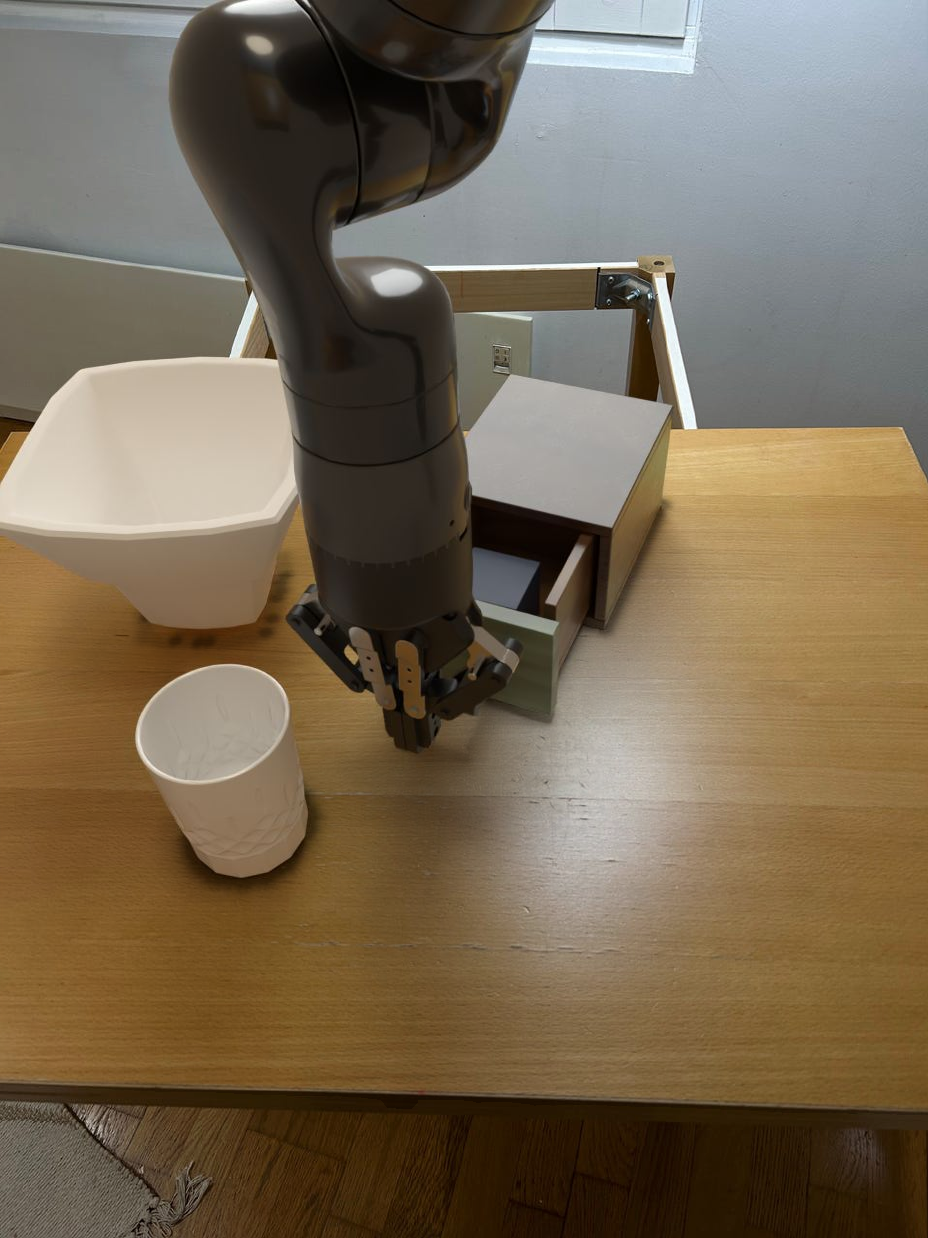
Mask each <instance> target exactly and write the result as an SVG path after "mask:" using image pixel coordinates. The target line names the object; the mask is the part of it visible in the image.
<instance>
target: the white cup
mask: <svg viewBox="0 0 928 1238" xmlns="http://www.w3.org/2000/svg"><path fill="white" fill-rule="evenodd" d="M296 736H297V735H296V732H295V726H294V721H293V715H292V711H291V706H290V701H289V697H288V695H287V693H286V691H285V689H284V688H283V686H282V685H281V684H280V682H278V681H277V679H275V677H273V676H271V675H270V674H269V673H267V672H265V671H263V670H261V669H258V668H255V667H252V666H249V665H244V664H236V663H221V664H212V665H207V666H203V667H200V668H197V669H194V670H191V671H188V672H186V673H184V674H182V675H180V676H177V677H176V678H174V679H173V680H171V681H169V682H168V683H167V684H165V685H164V686H163V687H161V688H160V689H159V690H158V691H156V693H155V694H154V695H153V696H152V697H151V699H149V700H148V701H147V703H146V705H145V706H144V707H143V709H142V711H141V713H140V715H139V718H138V720H137V724H136V726H135V736H134V737H135V738H134V740H135V747H136V750H137V753H138V756H139V758H140V760H141V761H142V763H143V765H144V767H145V769H146V770H147V772H148V774H149V776H150V778H151V780H152V782H153V783H154V785H155V787H156V788H157V791H158V793H159V794H160V796H161V798H162V800H163V801H164V803H165V806H166V808H167V809H168V811H169V812H170V814H171V815H172V817H173V818H174V821H175V822H176V824H177V825H178V828H179V829H180V830H181V832H182V833H183V834H184V836H185V837H186V838H187V840H188V841H189V843H190V845H191V848H192V849H193V851H194V854H196V856H197V859H199V860H200V861H201V863H204V864H205V865H206V866H207V867H208V868H210V870H212V871H213V872H214V873H216V874H220V875H225V876H228V877H229V876H230V877H234V878H239V879H242V878H248V877H253V876H256V875H257V876H258V875H262V874H266V873H270V871H272V870H274V869H275V868H277V867H278V866H280V865H281V864H283V863H284V862H286V861H287V860H289V859H290V858H292V856H293V854H294V853H295V852H296V851H297V849H298V848H299V846H300V845H301V843H302V841H304V838H305V837H306V833H307V825H308V818H309V810H308V806H307V800H306V795H305V782H304V776H303V771H302V762H301V757H300V752H299V746H298V741H297V737H296Z"/></svg>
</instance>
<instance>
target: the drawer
mask: <svg viewBox="0 0 928 1238" xmlns="http://www.w3.org/2000/svg"><path fill="white" fill-rule="evenodd" d="M470 508H471V532H472V550H473V548H474V547H477V548H481V549H485V550H490V551H494V552H498V553H502V554H507V555H511V556H515V557H519V558H524V559H528V560H532V561H537V562H540V613H539V615H538V616H534V615H531V614H527V613H523V612H520V611H516V610H512V609H509V608H505V607H501V606H497V605H494V604H490V603H486V602H483V601H479V600H475V599H474V600H475V602H476V603H477V605H478V606H479V608H480V610H481V612H482V615H483V624H482V628H483V629H484V630H486V631H487V632H488V633H489V634H490V635H492V636H493V637H494V638H495V639H496V640H498V641H499V642H501V641H502V640H504V639H506V638H513V639H515V640H517V641H519V642H520V643H521V644H522V645H523V647H524V652H523V654H522V656H521V658H520V660H519V663H518V665H517V667H516V669H515V671H514V673H513V674H512V676H511V678H510V680H509V682H508V684H507V686H506V687H505V688H504V689H502V690H501V691H499V692H498V693H496V694H494V695H493V696H491V697H489V698H488V699H492V700H496V701H500V702H503V703H506V704H509V705H512V706H516V707H519V708H523V709H525V710H529V711H533V712H536V713H539V714H542V715H545V716H549V717H551V716H552V715H553V713H554V710H555V708H556V706H557V704H558V685H559V672H560V670H561V667H562V665H563V664H564V662H565V660H566V657H567V655H568V653H569V651H570V650H571V649H570V648H571V647H572V645H573V643H574V640H575V639H576V637H577V634H578V632H579V630H580V628H581V626H582V625H583V624H582V622H583V620H584V618H585V616H586V613H587V611H588V609H589V607H590V605H591V603H592V601H593V599H594V597H595V595H596V586H597V572H598V559H599V545H600V535H598V534H594V533H589V532H585V531H581V530H577V529H573V528H568V527H564V526H560V525H556V524H552V523H547V522H543V521H539V520H535V519H531V518H526V517H522V516H518V515H514V514H510V513H506V512H501V511H497V510H493V509H489V508H485V507H480V506H476V505H472V504H471V506H470ZM469 657H470V653H469V651H468V650H467V649H465V650H464V651H463V652H462V653H460V654H459V655H458V656H457V657H455V658H454V659H453V660H451V661H450V662H449V663H448V664H446V665H445V666H444V667H443V678H451V676H452V674H453V673H455V672H456V671H458V670H459V669H461V668H462V667H464V666H465V665H467V660H468V659H469ZM483 702H484V701H483ZM483 702H481V703H480V704H478V705H476V706H475V707H473V708H471V709H470V710H468V711H466V712H465V713H463V715H468V716H471V717H477V716H478V715H479V713H480V711H481V709H482V706H483Z"/></svg>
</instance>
